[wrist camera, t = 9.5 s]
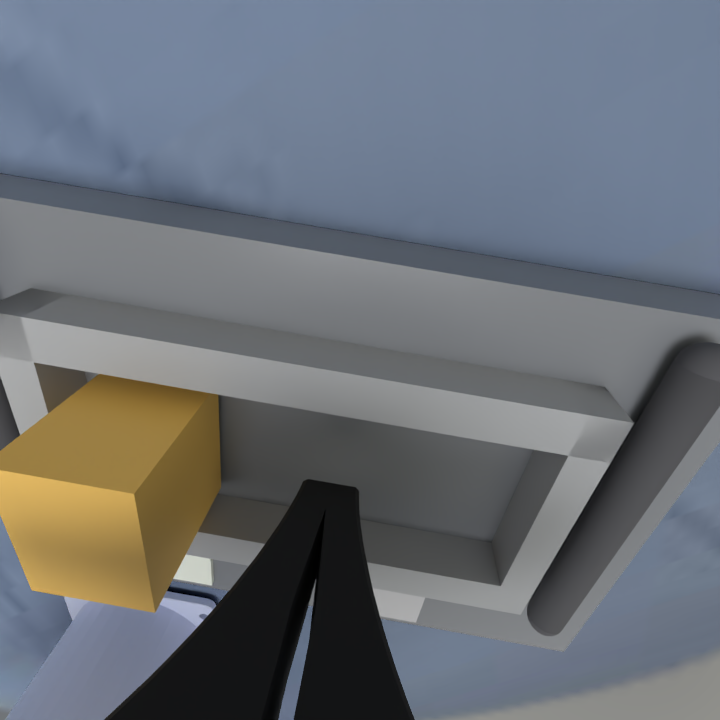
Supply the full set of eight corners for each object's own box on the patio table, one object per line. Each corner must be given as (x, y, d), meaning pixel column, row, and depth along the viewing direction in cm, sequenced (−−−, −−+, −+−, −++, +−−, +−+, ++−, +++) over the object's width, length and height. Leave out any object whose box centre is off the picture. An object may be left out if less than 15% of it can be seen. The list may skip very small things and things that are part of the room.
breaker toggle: (221, 486, 13) (155, 612, 10) (130, 470, 13) (31, 590, 10) (217, 382, 11) (134, 494, 8) (111, 364, 11) (-20, 466, 8)
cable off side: (551, 610, 15) (561, 646, 14) (518, 605, 15) (526, 640, 14) (728, 338, 10) (768, 362, 8) (677, 329, 10) (710, 353, 8)
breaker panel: (544, 590, 18) (578, 697, 15) (63, 503, 19) (-16, 588, 15) (725, 295, 11) (864, 365, 8) (-38, 167, 12) (-225, 180, 8)
